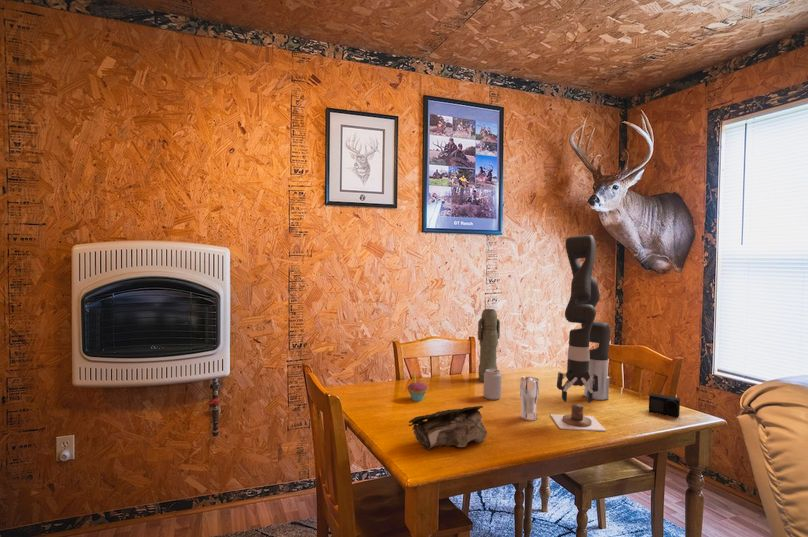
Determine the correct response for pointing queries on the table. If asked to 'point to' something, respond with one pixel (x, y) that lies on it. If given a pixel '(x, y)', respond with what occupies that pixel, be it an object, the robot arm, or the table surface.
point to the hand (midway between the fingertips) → (576, 401)
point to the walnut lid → (577, 417)
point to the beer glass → (529, 397)
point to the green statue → (488, 341)
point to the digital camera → (664, 405)
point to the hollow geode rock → (449, 427)
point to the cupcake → (417, 390)
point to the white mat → (562, 425)
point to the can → (492, 384)
